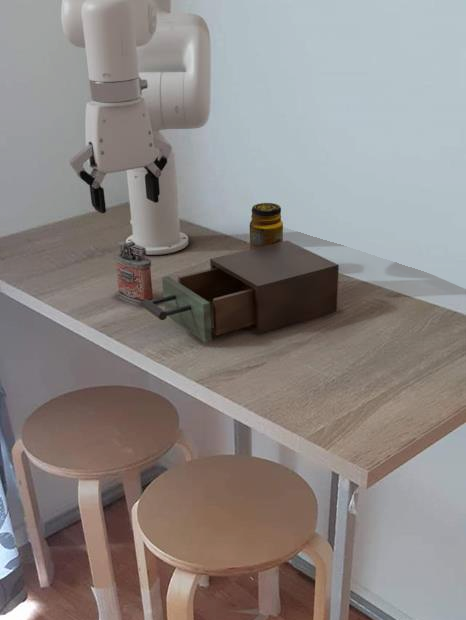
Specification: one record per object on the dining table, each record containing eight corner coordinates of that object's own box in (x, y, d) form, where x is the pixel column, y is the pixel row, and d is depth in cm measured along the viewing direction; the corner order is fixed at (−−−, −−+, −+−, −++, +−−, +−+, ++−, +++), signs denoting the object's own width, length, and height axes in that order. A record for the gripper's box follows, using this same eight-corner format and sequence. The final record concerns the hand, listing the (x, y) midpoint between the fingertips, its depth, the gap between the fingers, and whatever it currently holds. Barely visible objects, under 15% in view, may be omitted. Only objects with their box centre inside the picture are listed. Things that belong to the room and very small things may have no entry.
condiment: (292, 272, 152) (293, 207, 145) (254, 283, 148) (253, 216, 142) (269, 261, 157) (269, 198, 150) (232, 271, 154) (230, 206, 147)
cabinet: (258, 334, 131) (257, 286, 126) (211, 304, 141) (209, 258, 136) (336, 311, 137) (338, 264, 133) (286, 284, 148) (287, 240, 143)
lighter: (113, 296, 145) (107, 240, 139) (128, 290, 147) (122, 235, 141) (144, 308, 141) (139, 251, 135) (159, 302, 143) (154, 245, 137)
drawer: (172, 352, 124) (169, 313, 121) (133, 322, 134) (129, 285, 130) (282, 320, 133) (283, 283, 129) (239, 294, 142) (238, 258, 139)
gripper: (155, 81, 131) (163, 191, 141) (52, 95, 124) (68, 210, 134) (177, 88, 126) (184, 202, 136) (71, 102, 119) (87, 221, 128)
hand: (126, 205), depth 135 cm, fingers open, 9 cm apart
